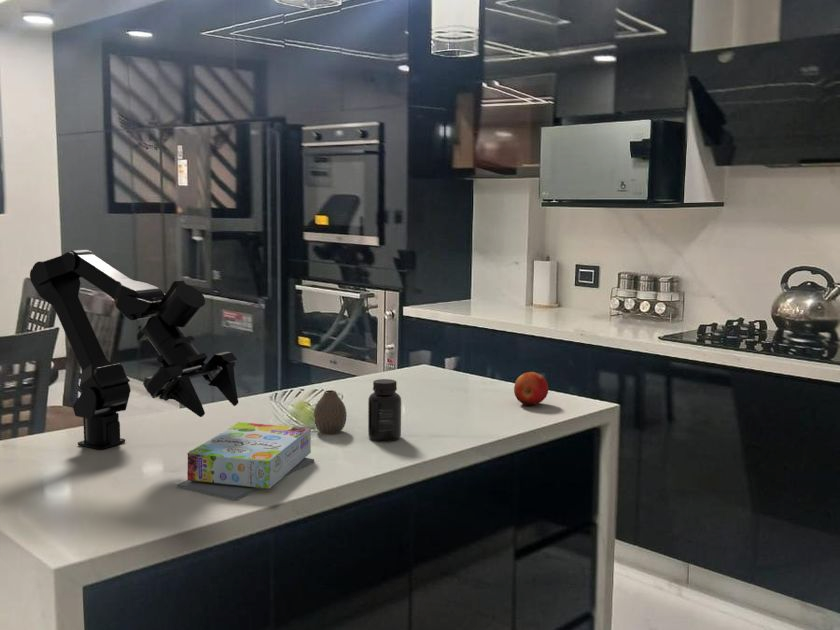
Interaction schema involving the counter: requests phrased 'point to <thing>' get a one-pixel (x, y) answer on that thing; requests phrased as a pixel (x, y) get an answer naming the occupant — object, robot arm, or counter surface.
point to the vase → (330, 413)
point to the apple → (530, 388)
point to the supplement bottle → (384, 411)
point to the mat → (231, 490)
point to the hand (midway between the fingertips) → (220, 409)
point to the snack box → (249, 455)
